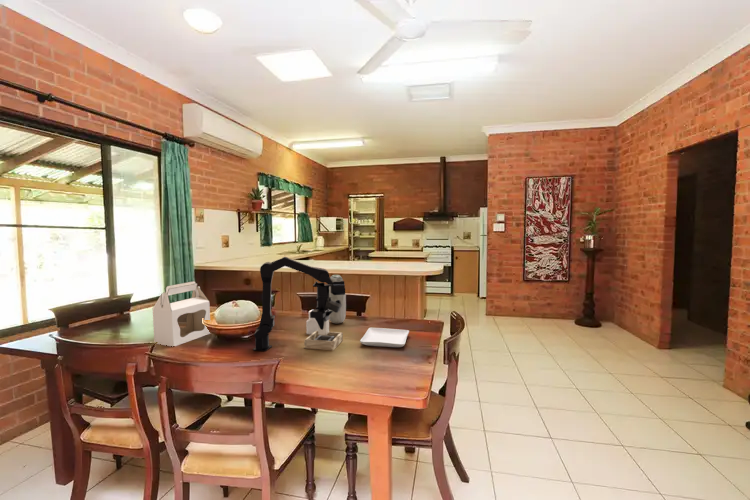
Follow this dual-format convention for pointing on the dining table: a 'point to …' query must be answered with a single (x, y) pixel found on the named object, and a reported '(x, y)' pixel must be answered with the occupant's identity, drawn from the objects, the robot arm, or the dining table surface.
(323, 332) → the grey rectangular prism
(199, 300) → the gable box
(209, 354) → the dining table surface
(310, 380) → the dining table surface
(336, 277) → the tall grey vase
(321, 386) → the dining table surface
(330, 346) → the socket box
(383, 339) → the salad plate
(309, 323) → the medicine bottle
